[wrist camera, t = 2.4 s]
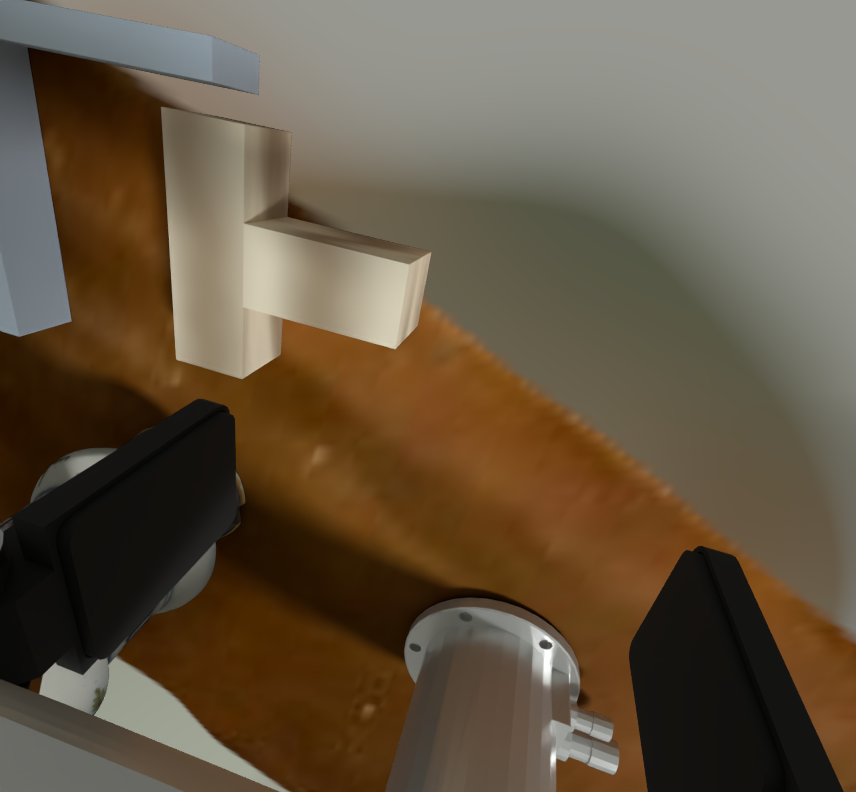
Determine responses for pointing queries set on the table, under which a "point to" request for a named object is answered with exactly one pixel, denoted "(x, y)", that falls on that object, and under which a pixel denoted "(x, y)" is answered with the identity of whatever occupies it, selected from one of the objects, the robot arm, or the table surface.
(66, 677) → the apothecary jar
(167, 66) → the fence
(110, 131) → the table surface
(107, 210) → the table surface
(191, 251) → the t block
